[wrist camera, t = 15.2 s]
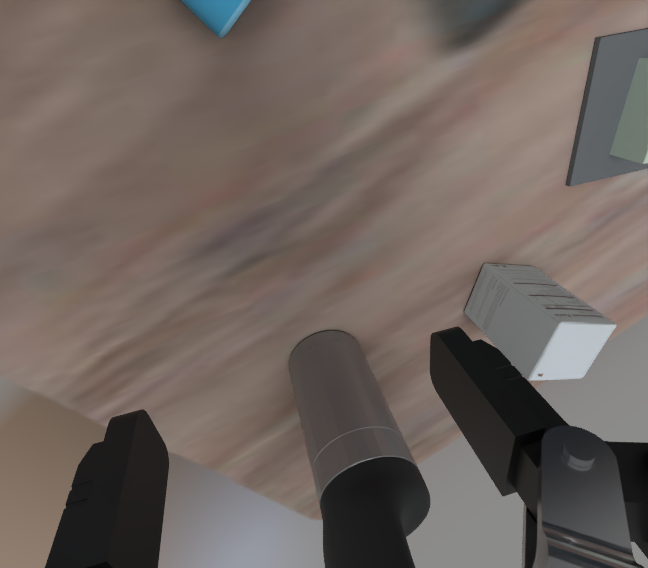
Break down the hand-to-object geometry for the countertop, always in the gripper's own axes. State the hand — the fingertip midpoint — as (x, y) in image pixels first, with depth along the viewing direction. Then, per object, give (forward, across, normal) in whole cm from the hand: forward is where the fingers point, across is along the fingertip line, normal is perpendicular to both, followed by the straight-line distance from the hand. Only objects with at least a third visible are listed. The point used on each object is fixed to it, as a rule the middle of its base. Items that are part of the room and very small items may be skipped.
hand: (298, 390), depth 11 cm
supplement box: (+28, -27, +22) cm, 45 cm away
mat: (+28, -41, +3) cm, 50 cm away
